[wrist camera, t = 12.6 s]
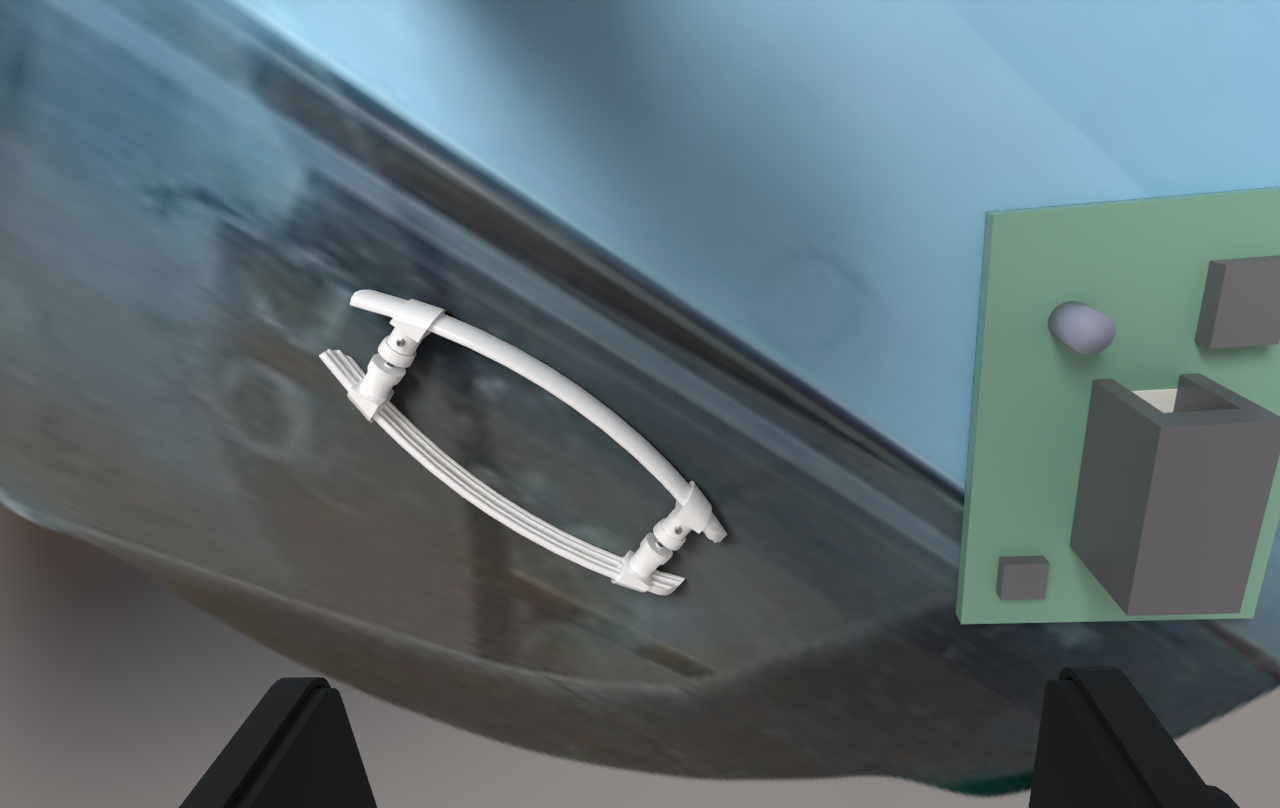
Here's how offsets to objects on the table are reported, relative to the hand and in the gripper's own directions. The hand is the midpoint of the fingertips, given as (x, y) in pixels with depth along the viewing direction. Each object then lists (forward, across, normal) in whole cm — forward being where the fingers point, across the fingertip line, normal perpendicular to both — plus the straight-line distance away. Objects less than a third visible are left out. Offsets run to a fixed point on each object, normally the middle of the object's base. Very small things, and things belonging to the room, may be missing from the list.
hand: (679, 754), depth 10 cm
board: (+30, -22, +10) cm, 39 cm away
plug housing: (+29, -22, +12) cm, 38 cm away
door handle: (+31, +10, +9) cm, 34 cm away
